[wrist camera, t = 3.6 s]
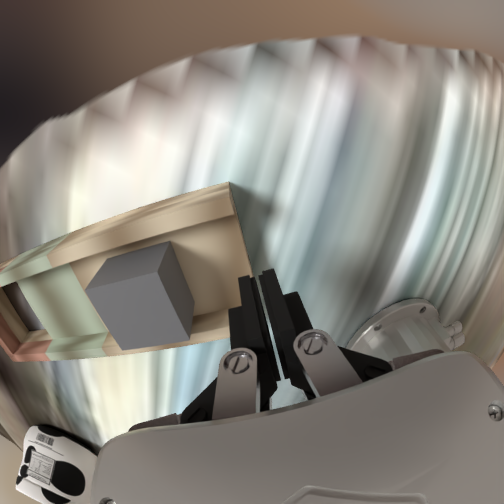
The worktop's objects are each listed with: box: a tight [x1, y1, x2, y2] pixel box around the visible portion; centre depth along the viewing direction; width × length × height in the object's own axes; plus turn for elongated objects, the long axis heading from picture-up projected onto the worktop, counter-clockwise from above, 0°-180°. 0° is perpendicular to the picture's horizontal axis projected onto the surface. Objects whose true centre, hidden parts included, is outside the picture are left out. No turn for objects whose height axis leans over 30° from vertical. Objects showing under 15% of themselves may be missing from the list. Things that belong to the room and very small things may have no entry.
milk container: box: [16, 425, 97, 504], centre depth 28 cm, size 17×17×18 cm
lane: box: [0, 182, 254, 361], centre depth 18 cm, size 28×10×4 cm, turn 103°
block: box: [85, 241, 195, 351], centre depth 17 cm, size 5×5×4 cm
